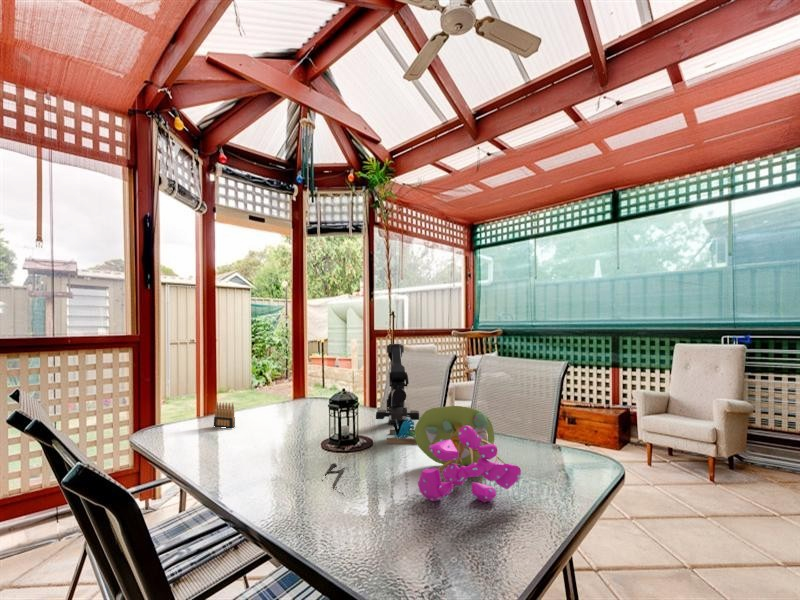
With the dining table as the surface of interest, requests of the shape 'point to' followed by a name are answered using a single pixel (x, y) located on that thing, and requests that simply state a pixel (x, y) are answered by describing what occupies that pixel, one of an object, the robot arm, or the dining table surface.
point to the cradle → (401, 439)
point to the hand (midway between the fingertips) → (397, 434)
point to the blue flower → (406, 429)
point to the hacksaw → (335, 472)
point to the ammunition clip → (224, 416)
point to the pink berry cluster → (460, 453)
